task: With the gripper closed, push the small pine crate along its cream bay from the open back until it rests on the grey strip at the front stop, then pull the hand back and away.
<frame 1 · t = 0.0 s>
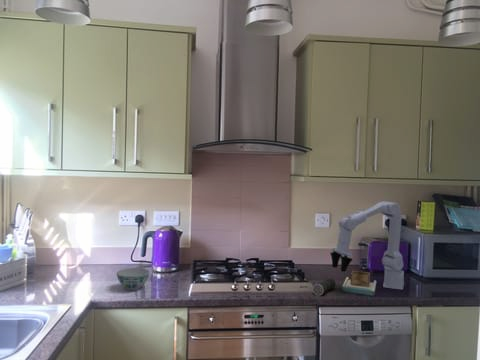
hand: (338, 269, 190), 11 cm above the countertop, fingers open, 7 cm apart
chinaware: (132, 288, 184), on the countertop
bay: (359, 287, 196), on the countertop
flashlight: (324, 292, 188), on the countertop
crate: (360, 278, 200), point 4 cm above the countertop, slide at 0.0 cm
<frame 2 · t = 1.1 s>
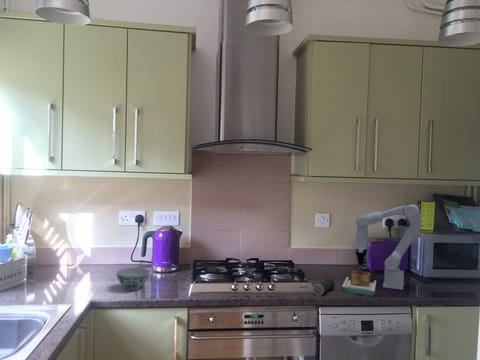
hand: (360, 263, 208), 10 cm above the countertop, fingers open, 7 cm apart
nothing on the countertop moved.
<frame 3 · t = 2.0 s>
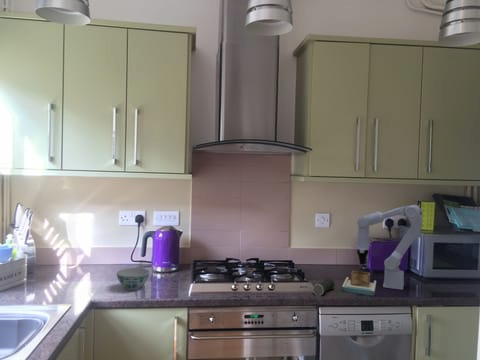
hand: (362, 263, 208), 9 cm above the countertop, fingers closed
nothing on the countertop moved.
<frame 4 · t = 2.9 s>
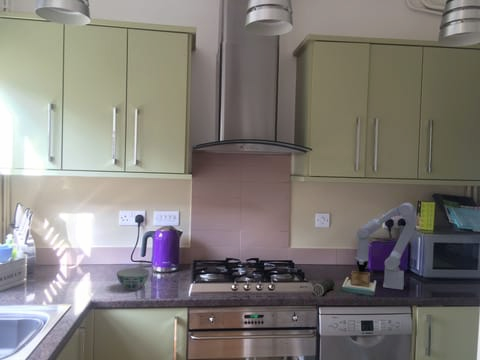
hand: (361, 275, 208), 3 cm above the countertop, fingers closed
nothing on the countertop moved.
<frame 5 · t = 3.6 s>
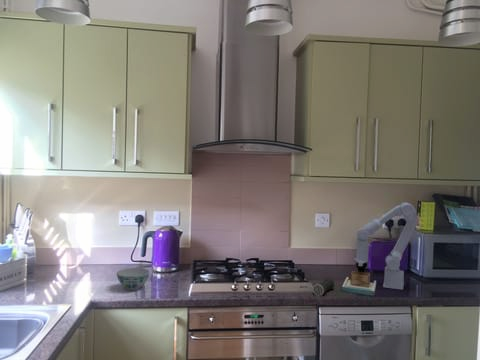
hand: (361, 276, 204), 3 cm above the countertop, fingers closed
crate: (360, 278, 199), point 4 cm above the countertop, slide at 0.5 cm, touching gripper
everything else where it was.
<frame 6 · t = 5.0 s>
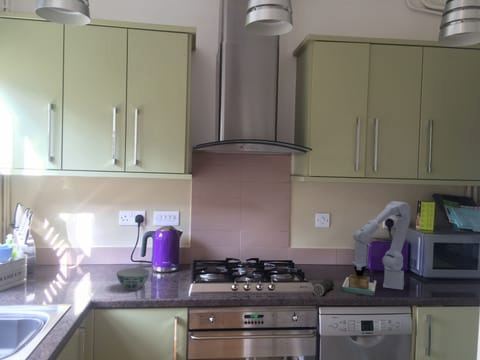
hand: (359, 281, 196), 3 cm above the countertop, fingers closed
crate: (358, 283, 192), point 4 cm above the countertop, slide at 9.0 cm, touching gripper
everything else where it was.
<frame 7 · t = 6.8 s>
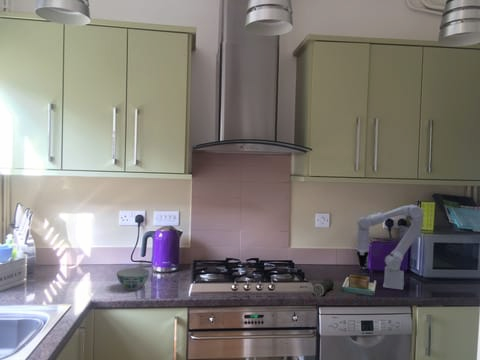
hand: (362, 266, 203), 9 cm above the countertop, fingers closed
crate: (358, 283, 192), point 4 cm above the countertop, slide at 9.0 cm
everything else where it was.
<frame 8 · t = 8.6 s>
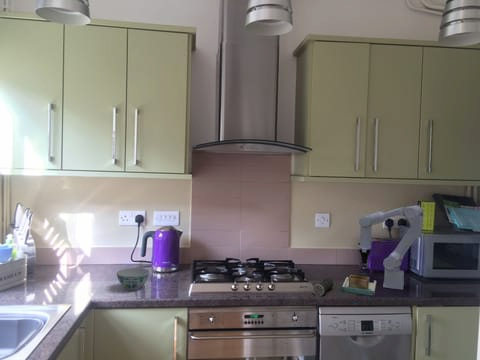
hand: (364, 263, 210), 9 cm above the countertop, fingers closed
nothing on the countertop moved.
at the end: crate slide at 9.0 cm; flashlight moved 0.7 cm from its start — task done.
